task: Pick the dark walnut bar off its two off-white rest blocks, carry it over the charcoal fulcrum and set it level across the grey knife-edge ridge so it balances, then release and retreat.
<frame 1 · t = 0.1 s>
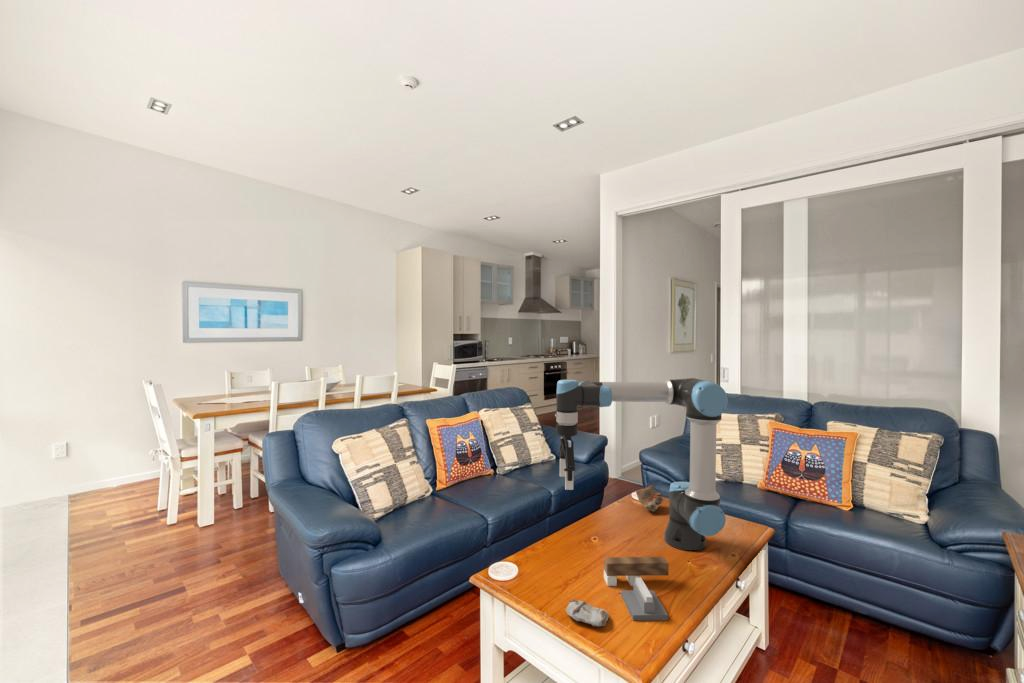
hand: (566, 482, 156), 28 cm above the table, fingers open, 13 cm apart
bar: (635, 572, 143), point 3 cm above the table, touching rest blocks
rock: (649, 510, 202), on the table
rest blocks: (635, 581, 143), on the table
stone: (586, 619, 125), on the table
fulcrum: (643, 607, 130), on the table
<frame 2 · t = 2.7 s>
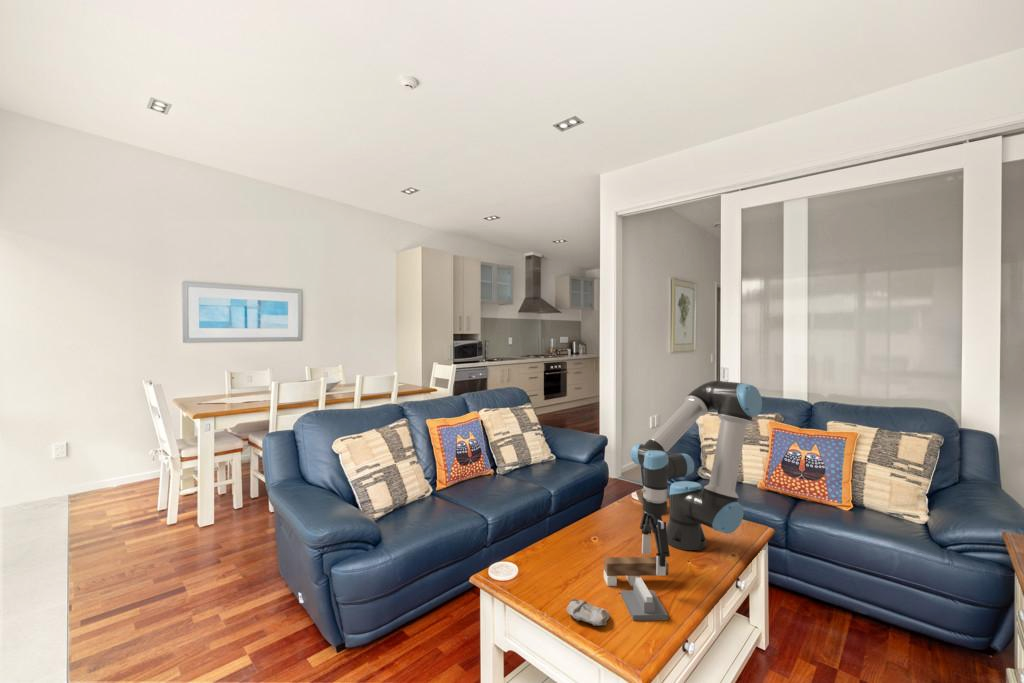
hand: (653, 564, 143), 6 cm above the table, fingers open, 13 cm apart
nothing on the table moved.
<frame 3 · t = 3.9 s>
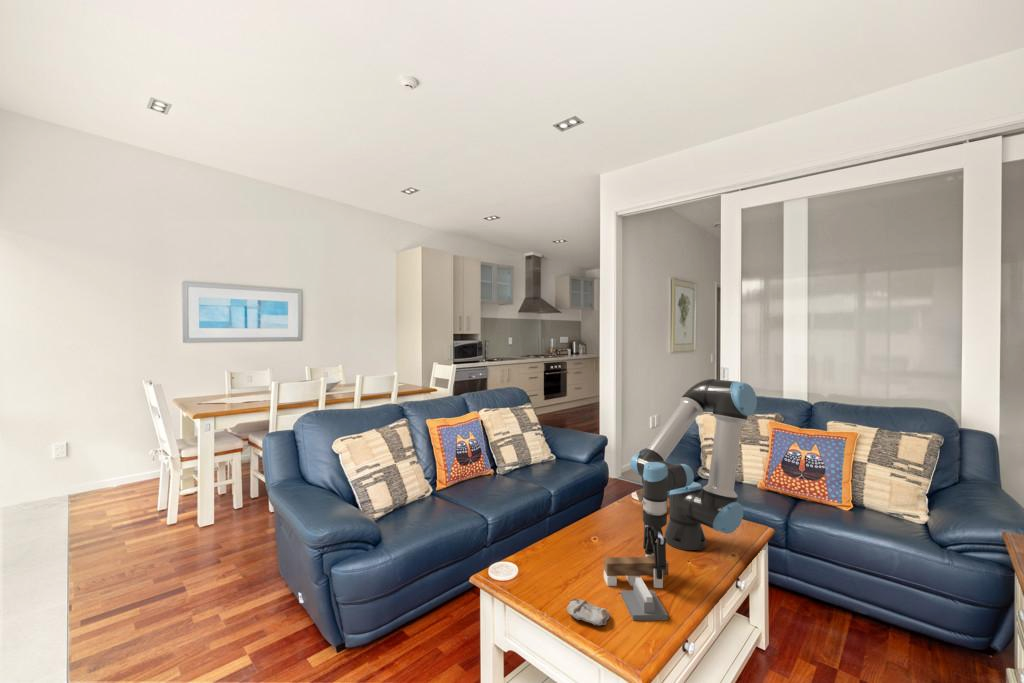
hand: (653, 580, 143), 0 cm above the table, fingers open, 7 cm apart
nothing on the table moved.
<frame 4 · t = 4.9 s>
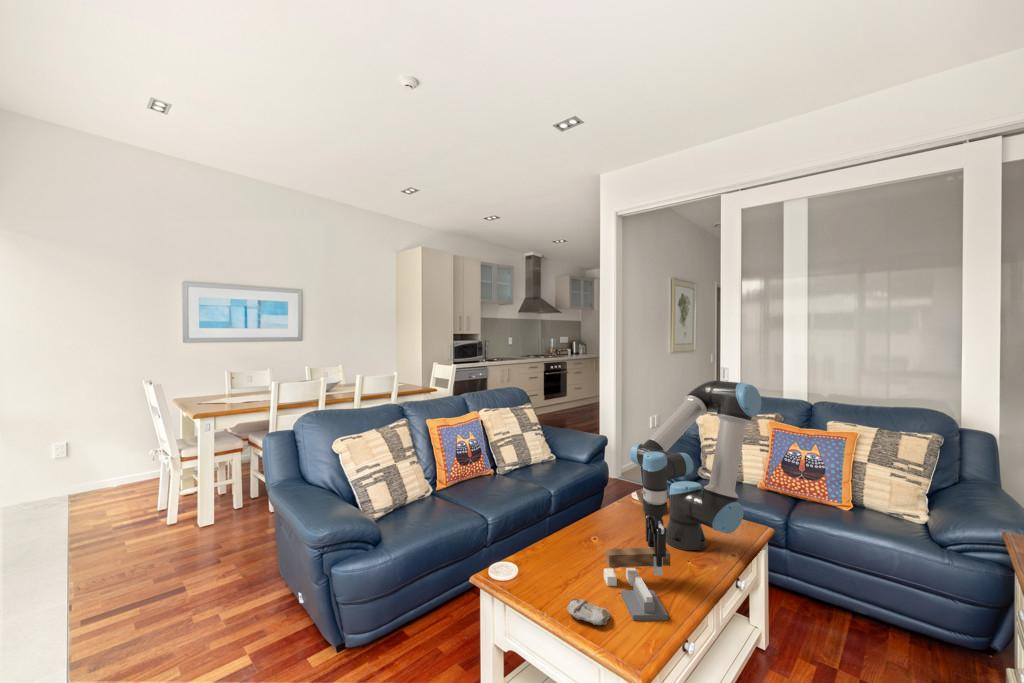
hand: (655, 570, 144), 3 cm above the table, fingers closed on bar, 4 cm apart
bar: (637, 563, 143), point 6 cm above the table, touching gripper
everything else where it was.
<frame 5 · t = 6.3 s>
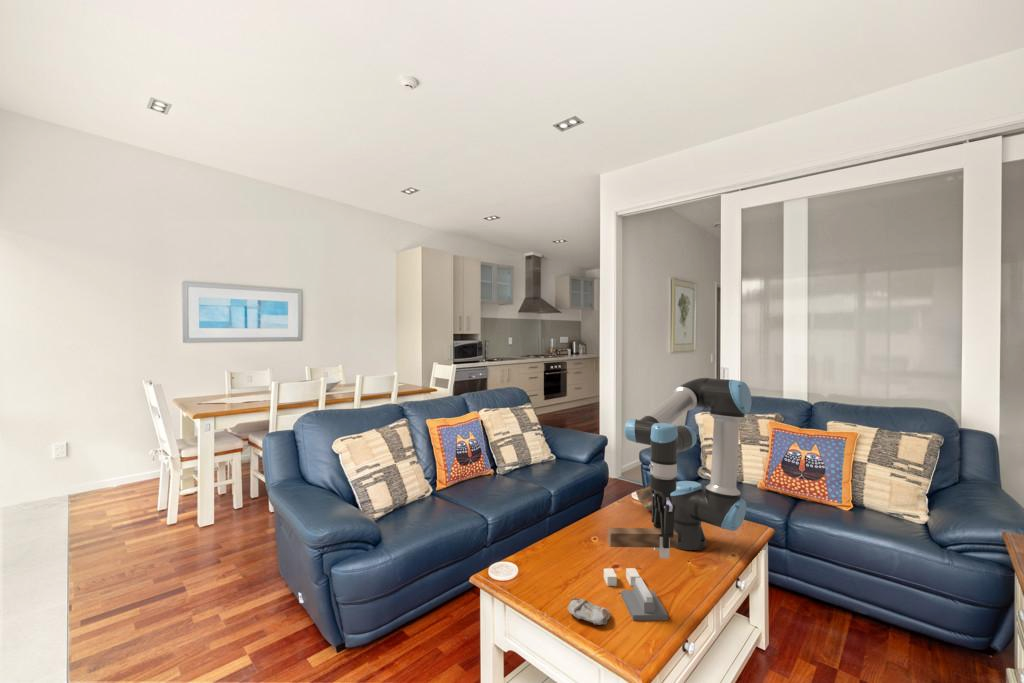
hand: (661, 553, 131), 15 cm above the table, fingers closed on bar, 4 cm apart
bar: (642, 544, 131), point 18 cm above the table, touching gripper
everything else where it was.
when the fingers open (4 cm above the table, at t = 7.9 s): bar stays where it is, resting on fulcrum.
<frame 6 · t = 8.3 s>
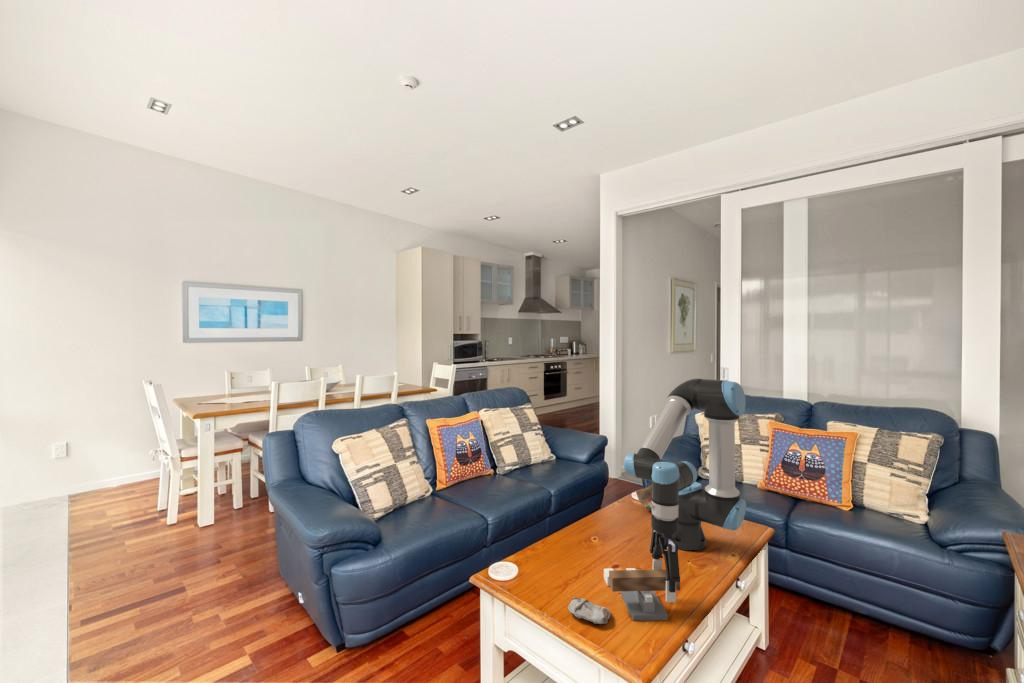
hand: (663, 590, 130), 5 cm above the table, fingers open, 10 cm apart
bar: (644, 586, 130), point 6 cm above the table, touching fulcrum
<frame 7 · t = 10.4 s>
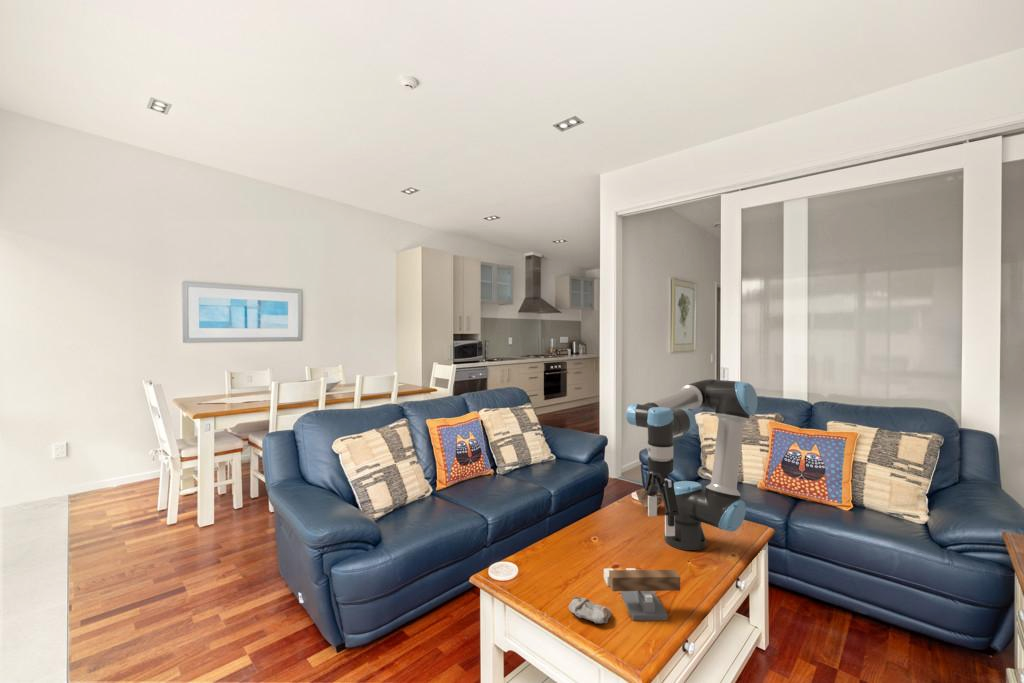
hand: (660, 525, 136), 21 cm above the table, fingers open, 13 cm apart
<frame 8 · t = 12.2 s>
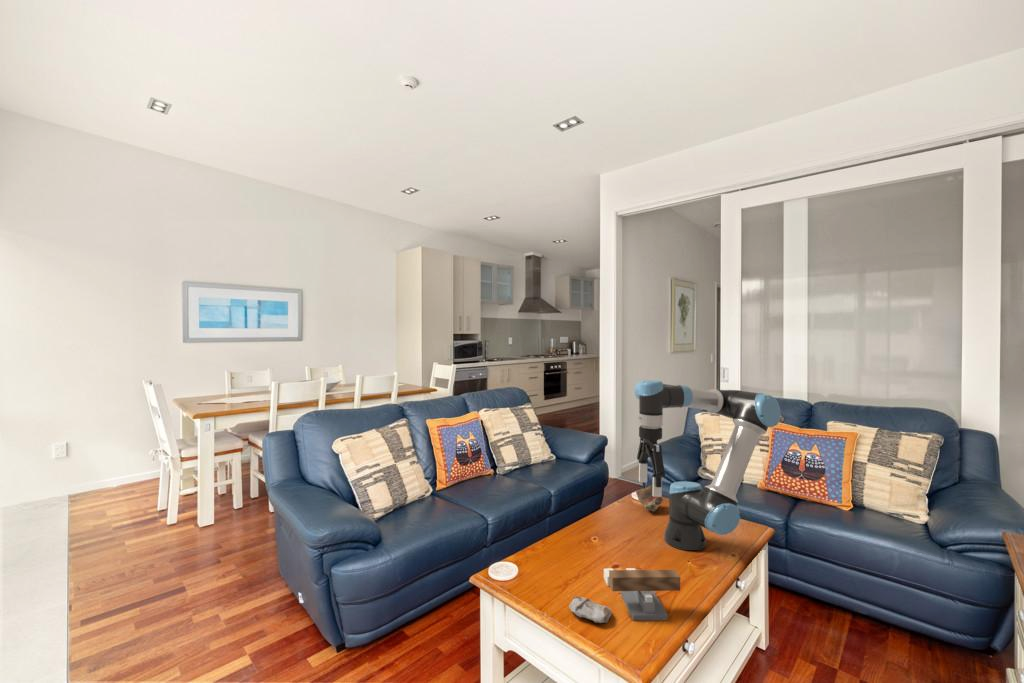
hand: (649, 488, 148), 29 cm above the table, fingers open, 13 cm apart
at the end: bar inside the target area on the fulcrum (0.1 cm from its centre), point 6.0 cm above the fulcrum's base; bar tilted 0°; bar touching fulcrum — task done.
